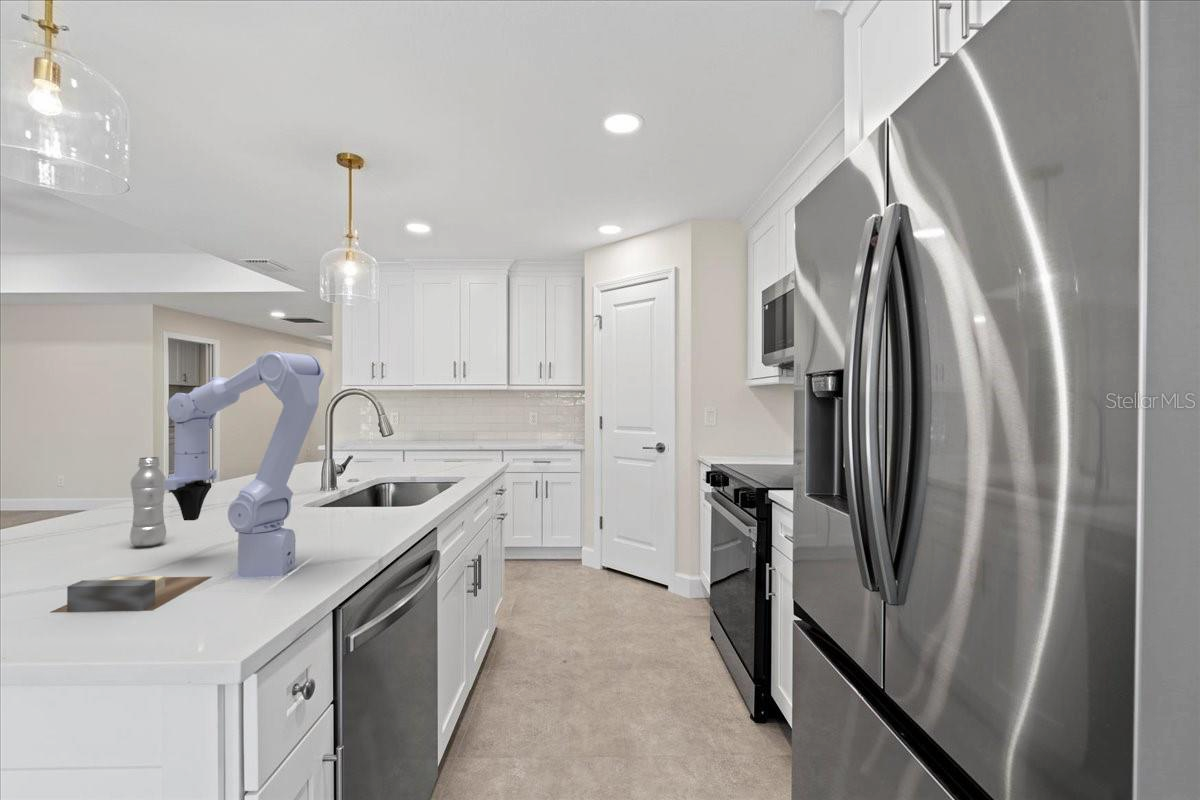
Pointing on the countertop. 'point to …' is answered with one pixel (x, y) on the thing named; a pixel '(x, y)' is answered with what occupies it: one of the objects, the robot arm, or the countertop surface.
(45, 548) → the countertop surface
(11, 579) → the countertop surface
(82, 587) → the board
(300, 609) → the countertop surface
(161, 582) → the cream wooden block
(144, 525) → the plastic bottle
